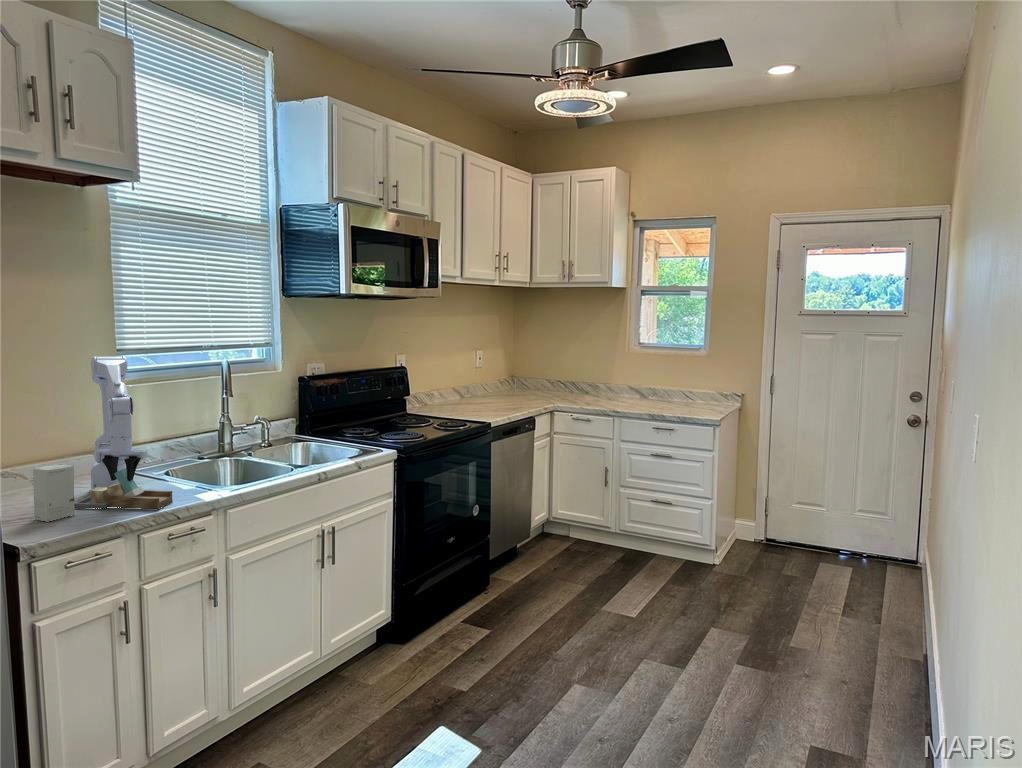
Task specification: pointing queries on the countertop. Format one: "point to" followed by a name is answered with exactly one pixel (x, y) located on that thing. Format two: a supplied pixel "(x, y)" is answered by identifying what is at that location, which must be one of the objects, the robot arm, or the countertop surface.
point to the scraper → (128, 484)
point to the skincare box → (53, 492)
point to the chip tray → (89, 504)
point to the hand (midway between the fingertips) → (122, 480)
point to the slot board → (142, 500)
